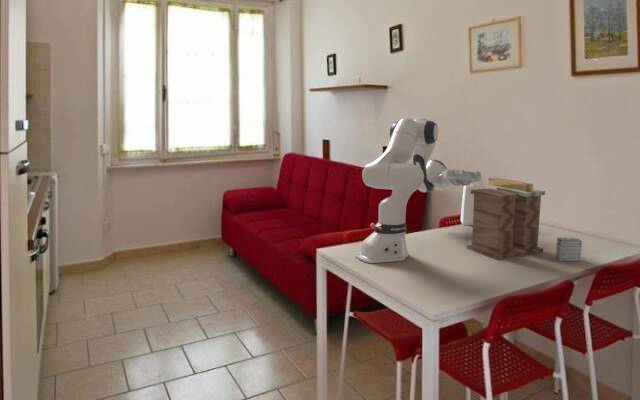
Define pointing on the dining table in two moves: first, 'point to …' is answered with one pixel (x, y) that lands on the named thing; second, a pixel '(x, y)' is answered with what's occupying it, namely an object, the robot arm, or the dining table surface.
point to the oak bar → (510, 184)
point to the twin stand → (505, 222)
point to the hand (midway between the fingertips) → (471, 172)
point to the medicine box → (568, 249)
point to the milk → (469, 201)
